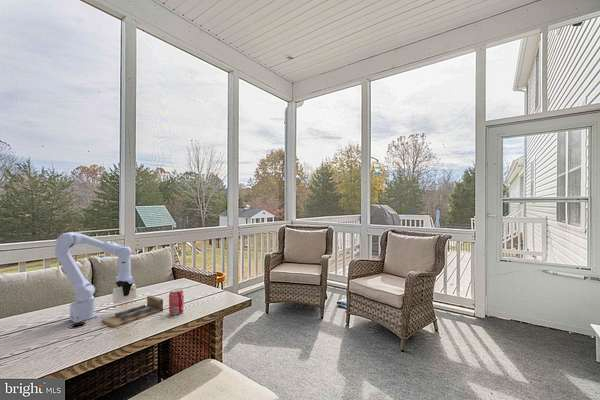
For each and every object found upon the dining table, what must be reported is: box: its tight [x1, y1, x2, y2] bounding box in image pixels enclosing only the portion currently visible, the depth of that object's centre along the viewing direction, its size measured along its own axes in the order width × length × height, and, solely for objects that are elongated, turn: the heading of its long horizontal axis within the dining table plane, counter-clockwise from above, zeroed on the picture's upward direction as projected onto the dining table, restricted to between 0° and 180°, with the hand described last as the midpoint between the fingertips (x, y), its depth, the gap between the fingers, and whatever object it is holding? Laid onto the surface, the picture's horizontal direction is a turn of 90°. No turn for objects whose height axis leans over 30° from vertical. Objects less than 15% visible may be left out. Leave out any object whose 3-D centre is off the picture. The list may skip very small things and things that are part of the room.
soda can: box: [168, 288, 185, 316], centre depth 146 cm, size 7×7×12 cm
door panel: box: [112, 283, 137, 304], centre depth 147 cm, size 10×4×7 cm, turn 148°
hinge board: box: [101, 295, 164, 329], centre depth 142 cm, size 24×12×6 cm, turn 147°
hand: (124, 295), depth 147 cm, fingers closed on door panel, 3 cm apart
